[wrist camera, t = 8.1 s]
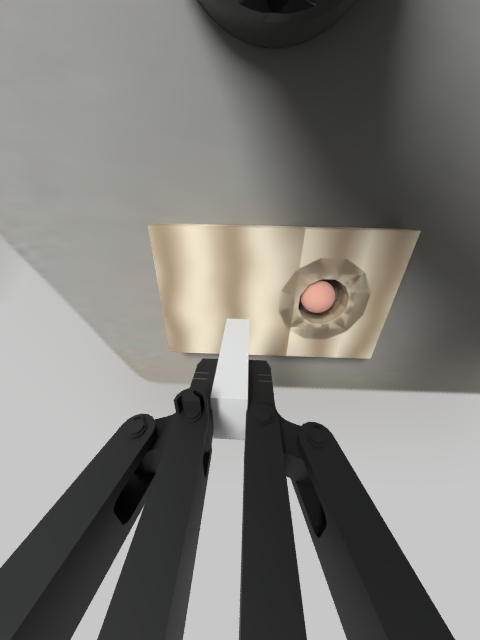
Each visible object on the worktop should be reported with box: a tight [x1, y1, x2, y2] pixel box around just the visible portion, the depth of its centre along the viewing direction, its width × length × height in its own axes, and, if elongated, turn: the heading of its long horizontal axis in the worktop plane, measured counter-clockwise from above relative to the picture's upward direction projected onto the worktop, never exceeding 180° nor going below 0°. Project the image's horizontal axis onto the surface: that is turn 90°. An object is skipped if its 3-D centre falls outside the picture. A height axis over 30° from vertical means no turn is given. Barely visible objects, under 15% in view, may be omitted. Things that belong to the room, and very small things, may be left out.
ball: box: [300, 280, 335, 313], centre depth 22 cm, size 4×4×4 cm
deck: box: [148, 223, 421, 359], centre depth 23 cm, size 24×14×2 cm, turn 89°
